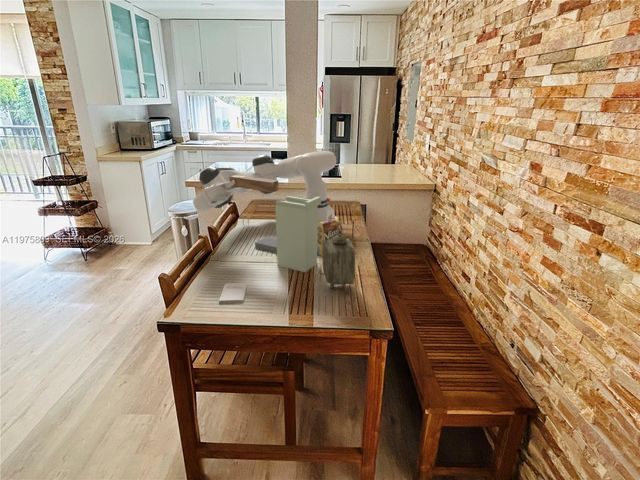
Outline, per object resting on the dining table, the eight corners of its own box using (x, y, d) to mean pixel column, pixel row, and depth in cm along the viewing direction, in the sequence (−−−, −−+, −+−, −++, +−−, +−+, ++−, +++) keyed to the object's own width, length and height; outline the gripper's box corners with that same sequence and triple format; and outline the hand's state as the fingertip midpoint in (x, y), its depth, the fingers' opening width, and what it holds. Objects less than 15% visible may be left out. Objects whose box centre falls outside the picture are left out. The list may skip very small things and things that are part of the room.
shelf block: (289, 257, 162) (288, 192, 151) (320, 264, 155) (320, 196, 145) (277, 265, 154) (275, 197, 144) (308, 273, 148) (308, 202, 137)
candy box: (321, 256, 163) (322, 223, 157) (316, 253, 166) (316, 220, 161) (338, 252, 168) (339, 220, 162) (332, 249, 171) (333, 217, 165)
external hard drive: (219, 304, 126) (225, 287, 137) (243, 303, 127) (247, 286, 138) (218, 300, 125) (224, 283, 137) (243, 299, 126) (247, 282, 138)
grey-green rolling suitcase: (353, 296, 131) (356, 229, 122) (328, 298, 129) (329, 230, 120) (345, 277, 144) (347, 216, 135) (322, 279, 143) (322, 217, 134)
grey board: (266, 241, 179) (266, 236, 179) (317, 252, 167) (317, 247, 166) (255, 247, 172) (254, 242, 171) (307, 259, 160) (307, 254, 159)
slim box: (236, 184, 160) (235, 174, 158) (278, 190, 150) (278, 180, 149) (229, 185, 157) (229, 176, 155) (272, 192, 147) (272, 182, 145)
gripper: (238, 194, 172) (258, 182, 164) (205, 204, 156) (226, 192, 148) (232, 181, 172) (251, 169, 164) (199, 191, 155) (219, 177, 147)
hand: (239, 180), depth 156 cm, fingers closed on slim box, 4 cm apart
